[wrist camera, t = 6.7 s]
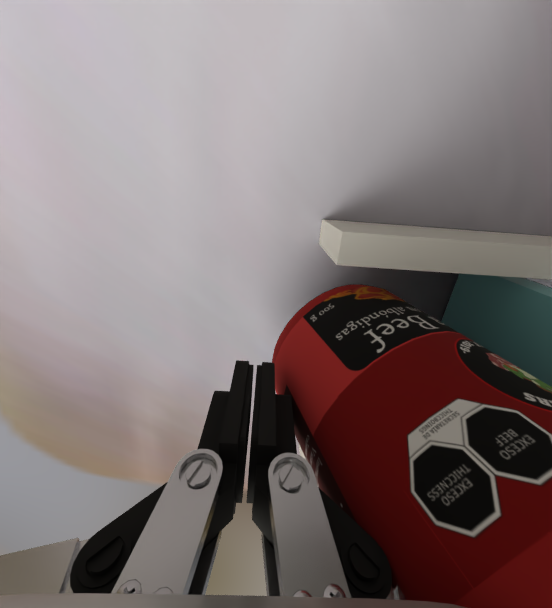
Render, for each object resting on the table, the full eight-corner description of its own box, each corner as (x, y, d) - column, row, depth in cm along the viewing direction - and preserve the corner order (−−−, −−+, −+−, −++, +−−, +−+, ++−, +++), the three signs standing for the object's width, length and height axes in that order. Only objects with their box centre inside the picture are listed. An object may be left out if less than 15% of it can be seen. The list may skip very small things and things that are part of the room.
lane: (322, 219, 13) (360, 242, 7) (682, 246, 13) (965, 285, 8) (295, 412, 18) (305, 511, 12) (556, 423, 19) (674, 521, 13)
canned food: (416, 294, 15) (826, 515, 5) (352, 400, 17) (555, 666, 8) (304, 260, 11) (916, 709, 2) (246, 399, 14) (392, 860, 5)
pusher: (463, 263, 13) (639, 331, 7) (485, 264, 13) (680, 333, 7) (410, 403, 17) (492, 529, 11) (428, 403, 17) (519, 529, 11)
